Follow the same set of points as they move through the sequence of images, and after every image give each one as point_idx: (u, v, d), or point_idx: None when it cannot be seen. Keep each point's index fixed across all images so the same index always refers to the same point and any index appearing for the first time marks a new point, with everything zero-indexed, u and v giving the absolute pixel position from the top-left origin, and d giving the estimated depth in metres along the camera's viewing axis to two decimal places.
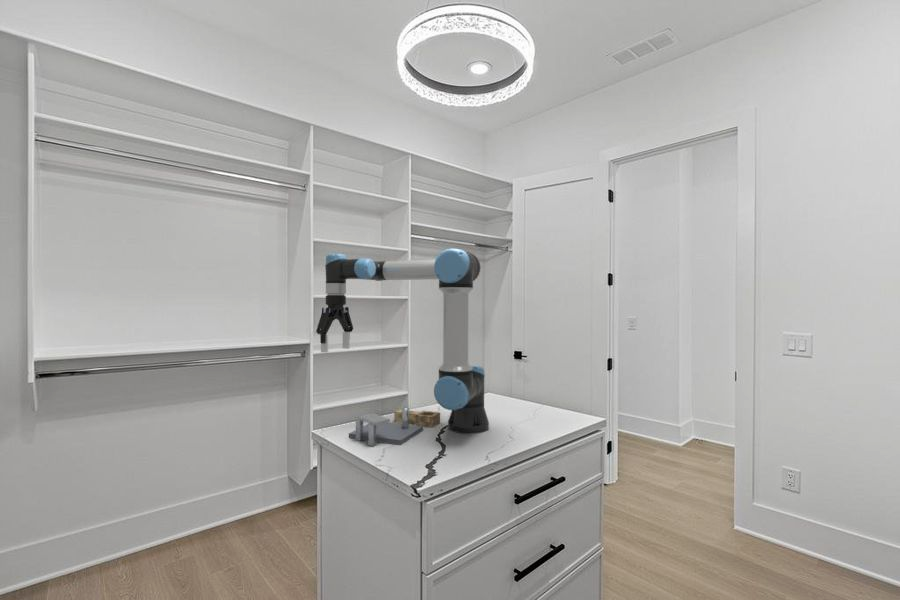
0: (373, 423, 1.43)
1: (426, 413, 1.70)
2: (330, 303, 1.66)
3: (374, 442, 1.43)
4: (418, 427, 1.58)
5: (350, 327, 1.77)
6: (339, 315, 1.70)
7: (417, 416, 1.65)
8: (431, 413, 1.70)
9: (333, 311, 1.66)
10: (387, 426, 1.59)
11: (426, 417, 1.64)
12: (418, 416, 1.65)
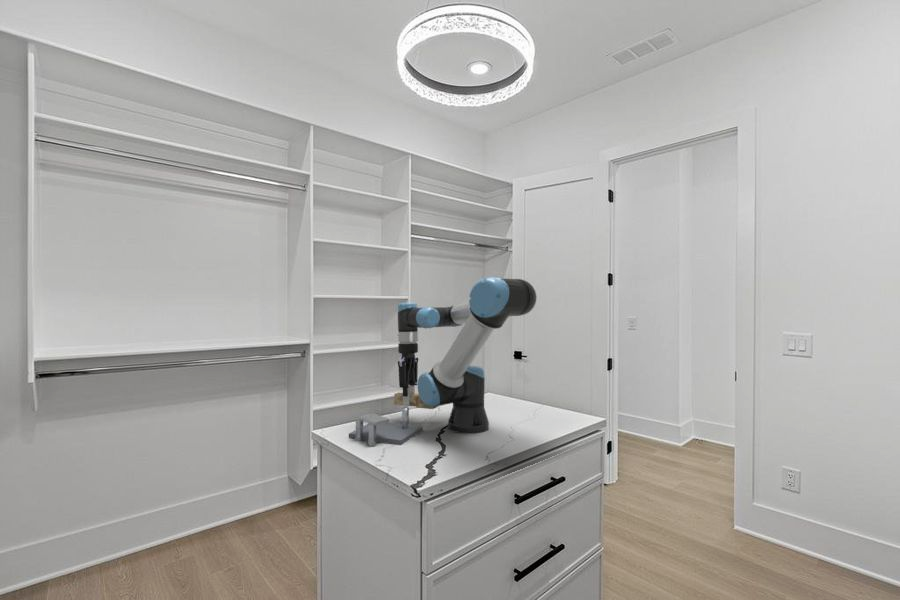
0: (373, 423, 1.43)
1: None
2: (404, 352, 1.67)
3: (374, 442, 1.43)
4: (418, 427, 1.58)
5: (415, 379, 1.74)
6: (411, 363, 1.71)
7: (417, 398, 1.65)
8: None
9: (407, 359, 1.68)
10: (387, 426, 1.59)
11: None
12: (418, 398, 1.65)
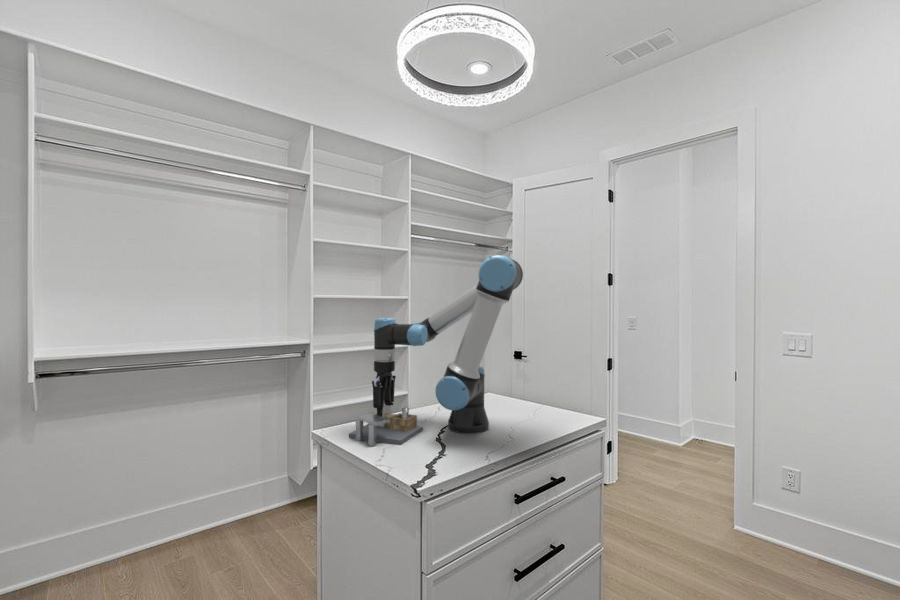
0: (373, 423, 1.43)
1: None
2: (380, 370, 1.57)
3: (374, 442, 1.43)
4: (418, 427, 1.58)
5: (391, 398, 1.65)
6: (387, 382, 1.61)
7: (392, 419, 1.56)
8: None
9: (382, 379, 1.58)
10: None
11: (401, 420, 1.54)
12: (393, 419, 1.56)
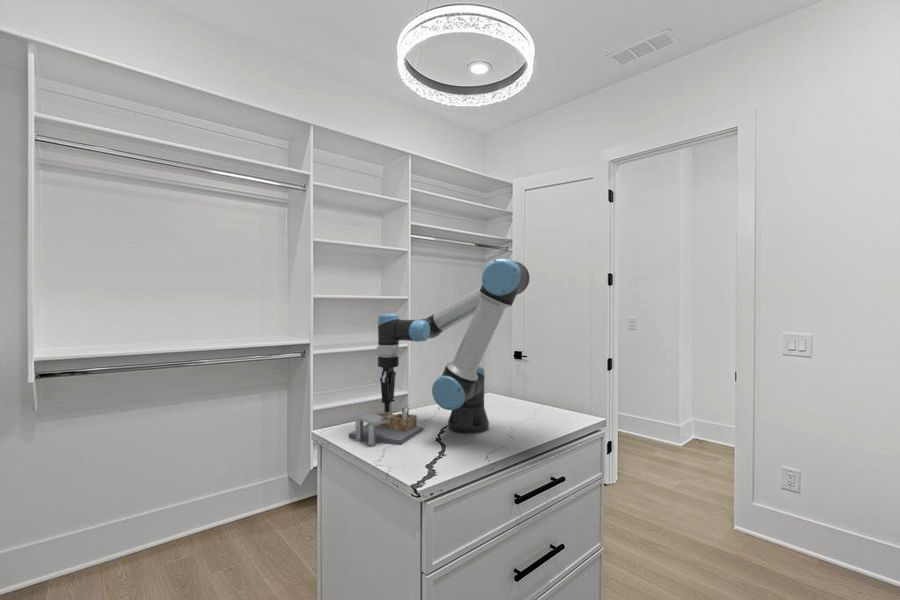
0: (373, 423, 1.43)
1: None
2: (386, 366, 1.59)
3: (374, 442, 1.43)
4: (418, 427, 1.58)
5: None
6: (391, 377, 1.63)
7: (392, 419, 1.55)
8: None
9: (388, 374, 1.60)
10: None
11: (402, 420, 1.54)
12: (393, 419, 1.55)
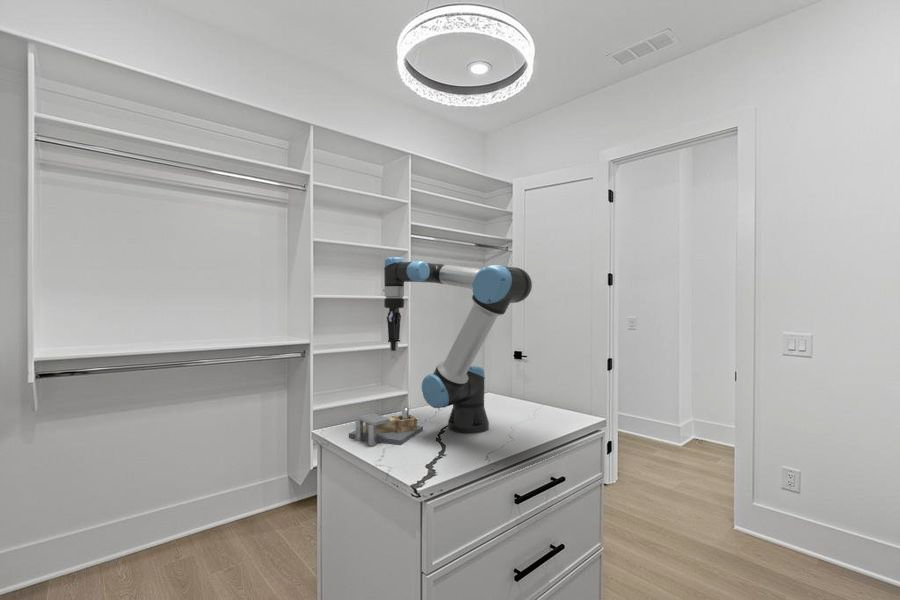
0: (373, 423, 1.43)
1: (398, 418, 1.58)
2: (392, 306, 1.67)
3: (374, 442, 1.43)
4: (418, 427, 1.58)
5: (397, 335, 1.73)
6: None
7: (400, 422, 1.52)
8: None
9: (395, 314, 1.68)
10: None
11: (410, 421, 1.54)
12: (401, 422, 1.52)
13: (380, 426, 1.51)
